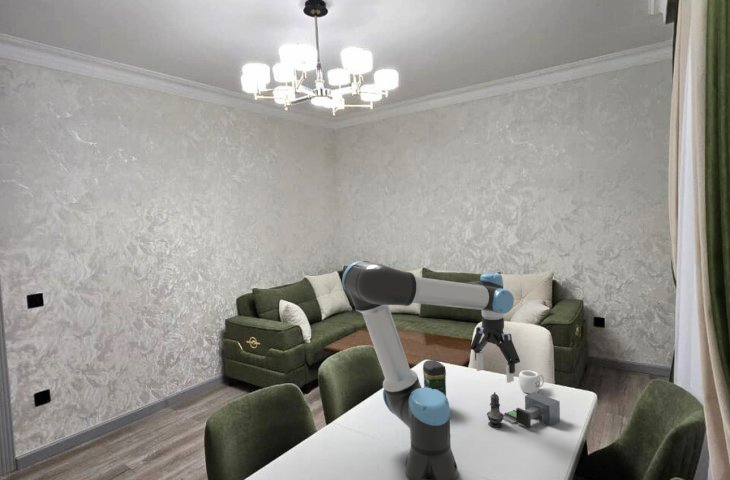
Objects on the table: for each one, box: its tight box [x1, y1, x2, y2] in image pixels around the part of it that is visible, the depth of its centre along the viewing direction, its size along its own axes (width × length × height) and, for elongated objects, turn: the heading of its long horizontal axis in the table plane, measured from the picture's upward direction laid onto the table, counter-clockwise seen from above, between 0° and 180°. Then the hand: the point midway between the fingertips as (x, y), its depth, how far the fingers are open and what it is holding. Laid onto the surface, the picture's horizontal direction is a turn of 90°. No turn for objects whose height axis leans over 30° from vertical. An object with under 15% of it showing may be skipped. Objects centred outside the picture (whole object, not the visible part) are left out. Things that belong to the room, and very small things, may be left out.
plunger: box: [504, 406, 542, 429], centre depth 147 cm, size 9×10×5 cm
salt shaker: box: [486, 391, 504, 429], centre depth 146 cm, size 6×6×12 cm
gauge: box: [502, 392, 561, 428], centre depth 148 cm, size 15×14×8 cm
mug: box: [518, 369, 545, 395], centre depth 172 cm, size 12×8×8 cm
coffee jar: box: [422, 359, 447, 397], centre depth 159 cm, size 10×8×19 cm
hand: (494, 375), depth 145 cm, fingers open, 13 cm apart
